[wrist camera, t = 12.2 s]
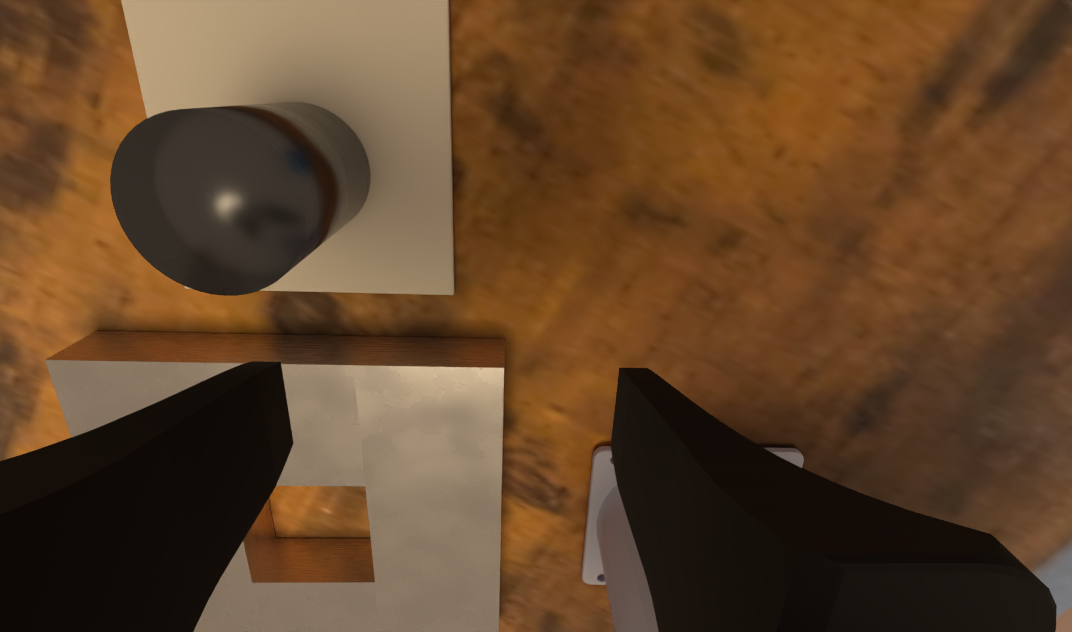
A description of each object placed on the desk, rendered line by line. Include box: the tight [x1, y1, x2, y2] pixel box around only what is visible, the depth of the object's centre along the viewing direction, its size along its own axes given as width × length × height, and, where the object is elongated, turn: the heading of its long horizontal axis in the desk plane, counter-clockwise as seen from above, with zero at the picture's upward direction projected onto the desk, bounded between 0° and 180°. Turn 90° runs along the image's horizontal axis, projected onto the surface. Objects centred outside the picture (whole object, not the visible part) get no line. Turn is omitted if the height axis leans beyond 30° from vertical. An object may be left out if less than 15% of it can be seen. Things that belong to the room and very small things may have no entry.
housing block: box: [45, 331, 505, 632], centre depth 23 cm, size 16×16×2 cm
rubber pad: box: [121, 0, 455, 295], centre depth 19 cm, size 10×10×1 cm
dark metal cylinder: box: [110, 102, 371, 295], centre depth 16 cm, size 4×4×6 cm
